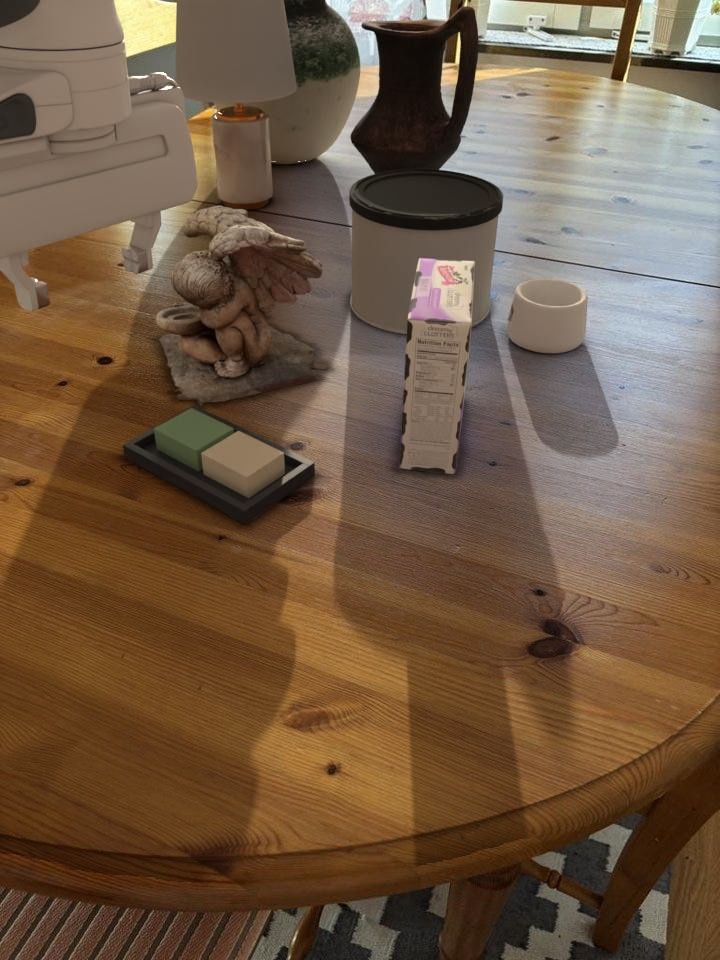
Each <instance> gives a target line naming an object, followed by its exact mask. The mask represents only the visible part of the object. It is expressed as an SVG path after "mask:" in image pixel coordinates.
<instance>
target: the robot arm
mask: <svg viewBox="0 0 720 960" xmlns="http://www.w3.org/2000/svg"><path fill="white" fill-rule="evenodd" d="M115 3H116V2H115V0H0V271H1V273H2V274H3V275H4V277H6V278H7V279H8V280H9V281H10V283H12V284H13V286H14V292H15V296H16V301H17V303H18V305H19V307H20V308H22V309H24V310H25V311H28V312H30V313H32V312H36V311H37V310H40V309H43V308H46V307H48V306H50V304H51V300H50V298H49V297H48V295H49V289H48V283H46V282H44V281H41V280H38V279H37V278H35V277H32V276H31V277H30V276H29V275H28V274H27V272H26V271H25V270H24V269H23V268H25V267H28V266H29V264H30V260H29V254H28V251H31V250H35V249H39V248H42V247H45V246H48V245H49V246H50V245H51V244H55V243H59V242H61V241H65V240H69V239H73V238H76V237H78V236H83V235H86V234H88V233H92V232H95V231H98V230H102V229H106V228H108V227H112V226H115V225H119V224H122V223H125V222H129V221H130V222H132V223H134V225H133V230H132V233H131V237H130V240H129V245H126V246H122V247H121V254H122V257H123V261H122V263H123V267H124V269H125V271H127V272H129V273H133V274H134V275H138V274H142V273H145V272H147V271H151V270H153V268H154V262H153V261H154V260H153V252H152V249H153V248H154V245H155V243H156V241H157V238H158V235H159V232H160V230H161V227H162V225H163V224H162V214H161V212H162V211H166V210H168V209H172V208H175V207H179V206H182V205H185V204H189V203H191V202H192V201H193V199H194V196H195V194H196V191H197V189H198V184H199V183H198V173H197V165H196V159H195V152H194V147H193V142H192V135H191V132H190V127H189V124H188V121H187V118H186V108H185V97H184V95H183V92H182V89H181V88H179V86H178V84H177V83H176V82H175V79H173V78H170V77H169V76H168V75H167V74H166V73H164V72H150V73H148V74H146V75H133V76H132V75H131V76H129V71H128V70H129V69H128V61H127V60H128V59H127V50H126V40H125V33H124V28H123V25H122V23H121V20H120V17H119V14H118V12H117V8H116V4H115ZM169 85H170V86H169Z"/></svg>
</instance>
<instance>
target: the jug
mask: <svg viewBox="0 0 720 960" xmlns="http://www.w3.org/2000/svg"><path fill="white" fill-rule="evenodd" d="M360 27H361V28H362V29H363V30H365V31H370V32H373V33H374V35H375V39H376V40H375V41H376V46H377V54H378V91H377V94H376V96H375V99H374V101H373V102H372V104H371V105H370V107H369V108H368V110H367V111H366V112H365V113H364V115H362V117H361V118H360V120H358V121H357V123H356V124H355V126H354V128H353V130H352V131H351V133H350V142H351V144H352V146H354V148H355V149H356V151H357V152H358V153H359V154H360V155H361V157H362V158H363V159H364V160H365V162H366V164H367V165H368V166H369V168H370V170H371V171H372V172H373V174H377V173H382V172H387V171H394V170H404V169H435V170H441V168H443V166H444V165H445V164H446V163H447V162H448V161H449V159H451V157H453V156H454V154H455V153H456V152H457V150H458V149H459V148H460V145H461V142H462V137H461V135H462V133H463V131H464V127H465V126H466V123H467V120H468V117H469V112H470V107H471V105H472V100H473V93H474V87H475V81H476V73H477V66H478V61H479V60H478V59H479V29H478V21H477V16H476V10H475V9H474V7H473V6H469V5H465V6H464V5H462V6H461V7H460V8H459V9H458V10H456V11H455V13H454V14H452V16H451V17H450V18H449V19H448V20H437V19H418V20H412V19H402V20H400V19H399V20H369V21H366V22H362V23H361V25H360ZM457 34H459V40H460V41H459V43H460V47H459V60H458V61H459V62H458V73H457V79H456V84H455V90H454V97H453V101H452V108H451V114H449V112H448V110H447V109H446V106H445V104H444V101H443V100H444V99H443V97H442V78H443V77H442V75H443V64H444V63H443V62H444V54H445V49H446V44H447V41H448V40H449V39H450V38H451V37H452V36H454V35H457Z"/></svg>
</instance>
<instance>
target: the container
mask: <svg viewBox="0 0 720 960" xmlns="http://www.w3.org/2000/svg"><path fill="white" fill-rule="evenodd" d="M348 192H349V198H348V199H349V206H350V208H351V295H350V299H349V300H350V301H349V302H350V303H349V304H350V308H351V310H352V312H353V313H354V315H356V317H358V318H359V319H360V320H361V321H363V322H364V323H366V324H368V325H370V326H372V327H374V328H378V329H380V330H383V331H387V332H389V333H390V332H391V333H396V334H401V335H407V319H408V314H409V308H410V302H411V297H412V291H413V285H414V280H415V275H416V270H417V265H418V260H419V258H423V259H438V260H459V261H475V272H474V295H473V312H472V326H471V328H473V327H475V326H477V325H479V324H481V323H482V322H483V321H484V320H485V319H486V318H487V317H488V315H489V312H490V307H491V303H490V297H491V289H492V287H491V286H492V277H493V269H494V259H495V252H496V251H495V250H496V241H497V233H498V231H497V230H498V222H499V215H500V214H501V213H502V211H503V204H504V194H503V191H502V190H501V189H500V188H499V187H498V186H497V185H495V184H494V183H492V182H491V181H489V180H486V179H484V178H481V177H478V176H475V175H471V174H467V173H464V172H463V173H462V172H458V171H452V170H444V169H439V170H435V169H404V170H394V171H387V172H382V173H377V174H375V173H373V174H370V175H367V176H365V177H362V178H359V179H358V180H357V181H355V182H354V183H353V184H351V186H350V187H349V191H348Z"/></svg>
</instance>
